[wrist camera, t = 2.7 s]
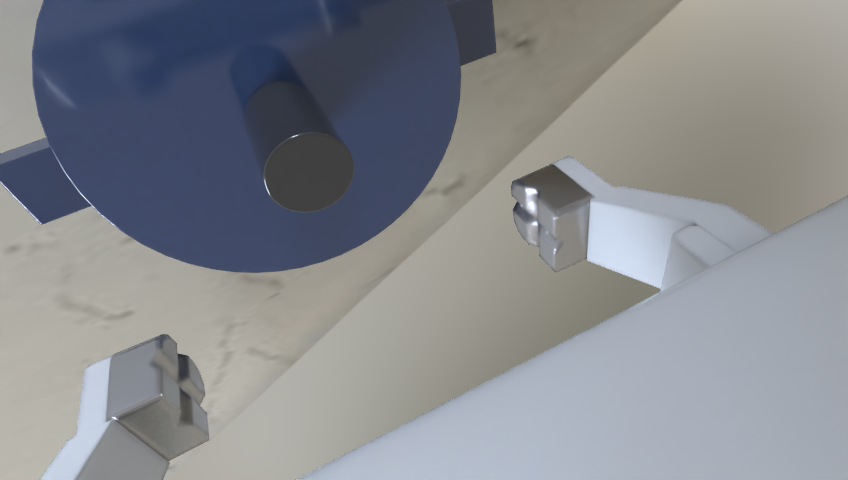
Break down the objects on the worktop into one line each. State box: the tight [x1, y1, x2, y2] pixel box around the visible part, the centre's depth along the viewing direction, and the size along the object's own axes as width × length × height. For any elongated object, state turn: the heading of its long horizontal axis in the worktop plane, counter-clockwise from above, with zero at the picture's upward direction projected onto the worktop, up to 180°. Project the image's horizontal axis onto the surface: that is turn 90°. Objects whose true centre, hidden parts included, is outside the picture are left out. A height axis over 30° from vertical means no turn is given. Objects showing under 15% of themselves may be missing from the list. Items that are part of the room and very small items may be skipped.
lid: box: [32, 0, 461, 273], centre depth 16 cm, size 14×14×5 cm
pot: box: [0, 0, 496, 224], centre depth 21 cm, size 13×18×10 cm
